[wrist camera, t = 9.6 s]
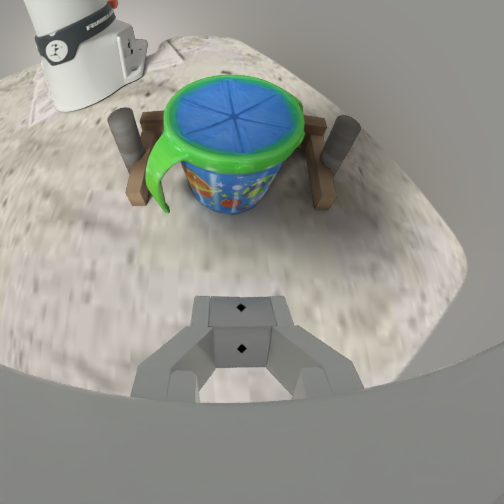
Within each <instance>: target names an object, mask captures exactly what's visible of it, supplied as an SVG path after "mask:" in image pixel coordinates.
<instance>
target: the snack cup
mask: <svg viewBox="0 0 504 504" xmlns="http://www.w3.org/2000/svg"><path fill="white" fill-rule="evenodd" d="M304 123H305V121H304V115H303V105H302V103H301V101H299V100H298V99H297V98H295V97H294V96H293V95H291V94H290V93H288V92H287V91H285V90H283V89H282V88H280V87H278V86H276V85H275V84H272V83H270V82H268V81H265V80H263V79H259V78H255V77H251V76H245V75H218V76H212V77H207V78H204V79H200V80H197V81H195V82H192V83H191V84H188V85H187V86H185V87H184V88H182V89H181V90H179V91H178V92H177V93H176V94H175V95H174V96H173V97H172V98H171V99H170V101H169V102H168V104H167V106H166V108H165V111H164V132H163V134H162V135H161V137H160V138H159V139H158V141H157V142H156V144H155V146H154V147H153V149H152V151H151V154H150V155H149V158H148V162H147V166H146V185H147V188H148V190H149V191H150V193H151V194H152V195H153V197H154V198H155V199H156V201H157V202H158V204H159V205H160V206H161V208H162V209H163V210H164V211H165V212H166V213H170V209H169V206H168V205H167V204H166V203H165V198H164V194H163V189H162V185H161V179H162V177H163V176H164V175H165V173H166V172H167V171H168V170H169V168H170V167H172V166H173V165H174V164H176V163H177V162H181V164H182V167H183V169H184V172H185V174H186V176H187V179H188V181H189V184H190V186H191V188H192V190H193V193H194V194H195V196H196V198H197V200H198V201H199V202H200V203H201V204H202V205H205V206H206V207H208V208H210V209H212V210H214V211H216V212H220V213H229V214H232V215H233V214H239V213H241V212H243V211H245V210H249V209H251V208H252V207H254V206H255V205H256V204H257V203H258V202H259V201H260V200H261V199H262V197H263V196H264V195H265V194H266V192H267V190H268V188H269V186H270V185H271V183H272V181H273V180H274V179H275V177H276V175H277V173H278V172H279V170H280V168H281V166H282V164H283V163H284V161H285V160H286V159H287V158H288V157H289V156H290V155H291V154H292V153H293V152H294V150H295V149H296V148H297V147H298V146H299V145H300V144H301V143H302V141H303V138H304V135H305V132H304Z"/></svg>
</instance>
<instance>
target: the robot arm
mask: <svg viewBox="0 0 504 504" xmlns="http://www.w3.org/2000/svg"><path fill="white" fill-rule="evenodd" d="M24 3H25V5H26V8H27V10H28V12H29V15H30V18H31V21H32V23H33V26H34V29H35V32H36V36H35V41H36V47H37V48H38V51H39V53H40V55H41V56H43V59H42V62H41V64H42V68H43V72H44V75H45V79H46V82H47V85H48V88H49V91H48V92H47V95H48V98H49V99H51V100H53V103H54V107H55V108H56V109H57V110H59V111H63V112H68V111H74V110H78V109H82V108H85V107H87V106H90V105H92V104H94V103H96V102H98V101H100V100H102V99H104V98H106V97H107V96H109V95H111V94H112V93H114V92H115V91H116V90H118V89H119V88H120V87H122V86H124V85H126V84H128V83H130V82H133V81H135V80H137V79H139V78H140V77H142V75H143V70H144V63H145V58H146V52H147V47H148V43H147V40H143V39H135V37H134V31H133V28H132V26H131V25H130V24H127V23H124V22H122V21H119V20H117V19H115V18H116V16H115V15H114V10H113V9H115V8H117V5H118V1H117V0H108V1H107V0H24ZM236 367H267V369H268V370H269V371H270V373H271V374H272V375H273V376H274V377H275V378H276V379H277V380H278V381H279V382H280V383H281V384H282V385H283V386H284V388H285V389H286V390H287V391H288V392H289V393H290V394H291V395H292V396H293V397H292V400H282V401H269V402H250V403H200V398H199V391H200V389H201V388H202V387H203V385H204V384H205V383H206V381H207V380H208V379H209V377H210V376H211V375H212V373H213V372H214V371H215V368H236ZM0 504H504V342H502V343H500V344H498V345H496V346H494V347H491V348H489V349H487V350H485V351H483V352H481V353H478V354H476V355H473V356H471V357H468V358H466V359H463V360H461V361H458V362H455V363H453V364H450V365H447V366H444V367H441V368H439V369H436V370H433V371H429V372H427V373H423V374H420V375H417V376H413V377H410V378H406V379H402V380H399V381H395V382H391V383H387V384H383V385H379V386H374V387H370V388H365V389H364V386H363V384H362V382H361V380H360V378H359V376H358V373H357V371H356V369H355V367H354V365H353V363H352V361H351V360H349V359H348V358H346V357H344V356H343V355H341V354H340V353H338V352H337V351H335V350H334V349H332V348H331V347H330V346H328V345H327V344H325V343H324V342H322V341H321V340H319V339H318V338H316V337H315V336H313V335H312V334H310V333H309V332H307V331H306V330H305V329H303V328H302V327H300V326H299V325H297V326H294V323H293V320H292V317H291V314H290V311H289V308H288V305H287V302H286V299H285V297H284V296H269V297H221V296H211V297H210V296H195V298H194V304H193V311H192V318H191V325H190V327H188V326H186V327H185V328H184V329H182V330H181V331H180V332H179V333H178V334H176V335H175V336H174V337H173V338H172V339H170V340H169V341H168V342H167V343H166V344H164V345H163V346H162V347H161V348H160V349H158V350H157V351H156V352H155V353H153V354H152V355H151V356H150V357H149V358H147V359H146V360H145V361H144V362H143V363H141V364H140V365H139V366H138V369H137V373H136V376H135V380H134V384H133V388H132V392H131V396H130V397H127V396H121V395H114V394H108V393H103V392H97V391H92V390H87V389H82V388H78V387H74V386H69V385H65V384H61V383H58V382H54V381H50V380H47V379H43V378H40V377H37V376H33V375H30V374H27V373H24V372H21V371H18V370H15V369H13V368H10V367H7V366H4V365H2V364H0Z"/></svg>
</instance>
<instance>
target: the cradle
mask: <svg viewBox="0 0 504 504" xmlns="http://www.w3.org/2000/svg"><path fill="white" fill-rule="evenodd" d="M304 121H305V123H304V132H305V135H304V138H303V141H302V143H301V144H300V145H299V146H298V147H297V148H302V149H305V152H306V158H307V164H308V169H309V175H310V182H311V188H312V194H313V201H314V208H315V209H322V210H328V209H329V208H330V207H331V205H332V204H333V202H334V201H335V199H336V198H337V197H336V191H335V187H334V182H333V177H334V175H335V174H336V172H337V170H338V168H339V167H340V165H341V163H342V162H343V160H344V158H345V156H346V155H347V153H348V151H349V150H350V148H351V146H352V144H353V143H354V141H355V139H356V137H357V136H358V134H359V132H360V130H361V127H360V125H359V123H358V122H357V121H356V120H355V119H353V118H351V117H349V116H346V115H341V116H338V117H337V119H336V121H335V124H334V126H333V128H332V130H331V132H330V135H329V137H328V139H327V141H326V143H325V142H324V138H323V135H324V133H325V130H326V128H327V126H326V122H325V119H324V118H319V117H312V116H304ZM108 124H109V126H110V129H111V131H112V134H113V136H114V139H115V141H116V144H117V146H118V149H119V151H120V153H121V156H122V158H123V160H124V163H125V165H126V167H127V170H128V172H129V174H130V176H129V180H128V184H127V188H126V192H125V193H126V195H127V197H128V199H129V201H130V202H131V204H132V206H146V203H147V198H148V192H149V190H148V188H147V185H146V166H147V162H148V158H149V155H150V154H151V151H152V149H153V147H154V146H155V144H156V142H157V141H158V139H159V138H160V137H161V135H162V134H163V132H164V111H152V112H143V113H142V116H141V119H140V124H141V128H142V133H141V137H140V135H139V132H138V128H137V125H136V121H135V118H134V115H133V111H132V109H130V108H120V109H117V110H115V111H114V112H113V113H111V114H110V116H109V117H108Z"/></svg>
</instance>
